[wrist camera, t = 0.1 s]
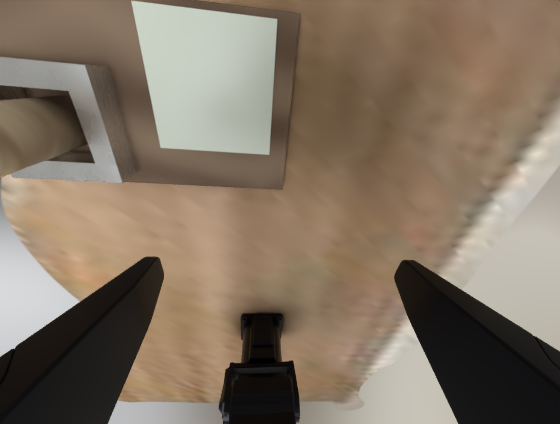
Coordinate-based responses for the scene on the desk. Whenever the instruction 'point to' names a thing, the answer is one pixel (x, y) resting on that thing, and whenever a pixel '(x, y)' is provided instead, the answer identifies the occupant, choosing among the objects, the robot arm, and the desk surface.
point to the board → (134, 87)
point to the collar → (91, 112)
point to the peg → (37, 131)
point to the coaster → (208, 77)
